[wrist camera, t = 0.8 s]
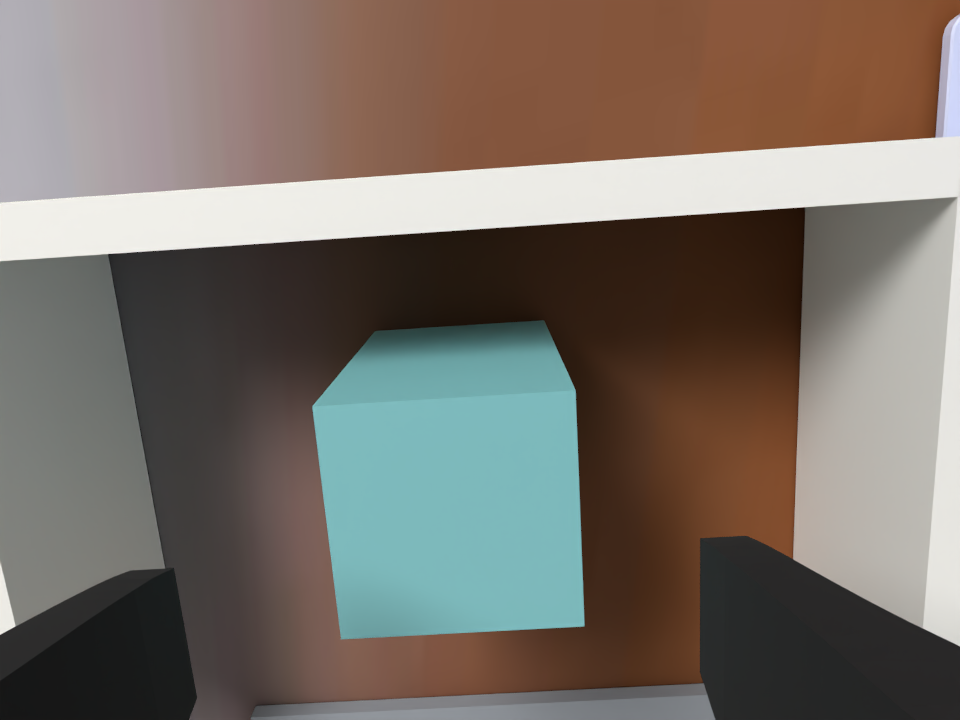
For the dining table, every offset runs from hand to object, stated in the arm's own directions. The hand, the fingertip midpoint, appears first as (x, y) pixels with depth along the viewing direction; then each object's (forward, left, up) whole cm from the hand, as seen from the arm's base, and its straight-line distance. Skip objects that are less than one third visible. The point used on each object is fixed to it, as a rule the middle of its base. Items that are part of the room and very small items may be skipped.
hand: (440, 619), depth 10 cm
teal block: (0, 0, -10) cm, 10 cm away
